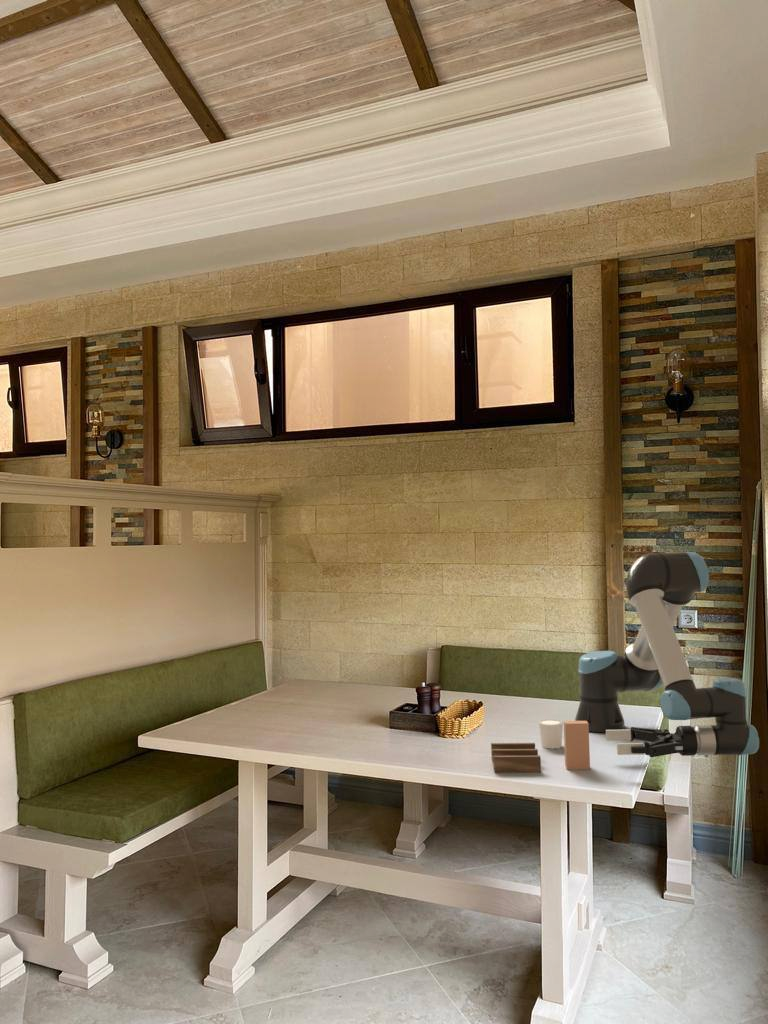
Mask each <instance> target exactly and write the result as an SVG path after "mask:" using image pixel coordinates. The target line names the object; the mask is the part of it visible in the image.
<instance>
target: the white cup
mask: <svg viewBox="0 0 768 1024" xmlns="http://www.w3.org/2000/svg"><path fill="white" fill-rule="evenodd" d="M538 727H539V734H540V742H541V747H542V748H543V747H545V748H544V749H547V748H552V749H551V750H554V749H553V748H558V749H560V748H559V747H561V748H562V742H563V730H564V721H561V720H557V719H543V720H539V721H538Z"/></svg>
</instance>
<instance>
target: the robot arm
mask: <svg viewBox="0 0 768 1024" xmlns="http://www.w3.org/2000/svg"><path fill="white" fill-rule="evenodd" d="M709 581H710V574H709V568H708V566H707V563H706V561H705V560H704V558H703V557H702V556H701V554H699V553H696V552H695V551H694V552H692V551H690V552H688V551H682V552H658V553H657V552H650V553H649V552H648V553H645V554H642V555H641V556H638V558H637V559H636V560H635V561H633V563H632V564H631V566H630V567H629V569H628V572H627V575H626V581H625V582H626V583H625V586H626V587H625V588H626V590H625V591H626V594H627V598H628V602H629V603H630V605H631V606H633V607H635V609H636V612H637V615H638V618H639V620H640V624H641V625H640V628H639V631H638V633H637V636H636V638H635V640H634V642H633V643H631V644H629V645H628V646H627V647H626V649H625V652H624V654H617V653H616V651H613V650H602V651H601V650H597V651H592V652H587V653H585V654H583V655H582V656H580V658H578V659H579V660H578V669H577V671H578V681H579V682H578V683H579V705H578V709H577V712H576V715H575V719H574V721H587V722H588V723H589V732H591V731H592V733H605V739H606V740H605V741H606V742H607V741H608V742H609V741H610V742H611V741H630V742H623V743H621V742H620V743H619V742H618V743H616V754H617V755H618V756H623V755H624V756H625V755H626V756H627V755H629V756H631V755H635V756H636V755H645V756H648V757H649V758H656V757H661V756H666V755H667V756H668V755H672V754H679V755H681V756H682V757H684V756H686V757H688V756H689V757H690V756H691V757H692V756H695V755H697V756H704V757H705V758H708V757H709V756H742V755H743V756H744V755H753V754H754V755H755V753H757V752H758V750H759V748H760V737H759V733H758V730H757V729H756V727H755V726H754V725H752V724H749V723H748V719H747V706H746V705H747V702H746V701H747V699H746V698H747V695H746V688H745V684H744V683H745V682H744V681H743V680H742V679H739V678H734V677H717V678H715V679H713V680H712V681H713V682H712V684H713V685H712V686H711V687H700V688H697V687H696V685H695V682H694V680H693V676H692V674H691V672H690V669H689V666H688V663H687V660H686V658H685V655H684V653H683V650H682V647H681V644H680V642H679V640H678V637H677V634H676V631H675V628H674V626H675V624H676V622H677V619H678V617H679V615H680V613H681V611H682V608H683V607H684V606H685V605H689V603H690V602H691V601H692V599H693V598H694V595H695V593H701V592H704V591H705V590H706V589H707V588H708V585H709ZM662 685H663V688H664V691H663V692H662V693H661V695H660V697H659V703H660V710H661V713H662V714H663V715H664V717H665V718H667V719H668V720H669V721H688V720H696V719H708V718H715V724H713V725H711V724H710V725H709V724H702V725H701V724H698V725H697V724H695V725H694V726H692V725H678V726H676V728H675V732H674V733H671V732H670V731H669V729H666V728H665V729H658V728H649V727H648V728H645V727H636V726H632V727H631V726H630V729H627V728H626V727H625V718H624V716H623V713H622V711H621V708H620V705H619V701H618V698H619V697H618V693H628V692H629V693H630V692H631V693H632V692H648V691H651V690H657V689H659V688H661V686H662ZM625 728H626V729H625ZM634 740H637V741H641V742H634ZM642 741H643V742H642Z"/></svg>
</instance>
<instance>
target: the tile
mask: <svg viewBox="0 0 768 1024" xmlns="http://www.w3.org/2000/svg"><path fill="white" fill-rule="evenodd" d="M563 737H564V738H563V739H564V740H563V741H564V744H563V745H564V766H566V767H565V769H566V770H567V769H590V770H591V759H590V757H591V756H590V754H591V753H590V731H589V723H588V722H587V721H575V720H564V721H563Z"/></svg>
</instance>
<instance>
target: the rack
mask: <svg viewBox="0 0 768 1024" xmlns="http://www.w3.org/2000/svg"><path fill="white" fill-rule="evenodd" d="M490 748H491V752H490V753H491V761H492V762H491V763H492V765H493V772H494V773H541V772H542V769H541V768H542V763H541V762H542V761H541V755H539V750H538V748H536V743H535V742H491V743H490Z"/></svg>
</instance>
